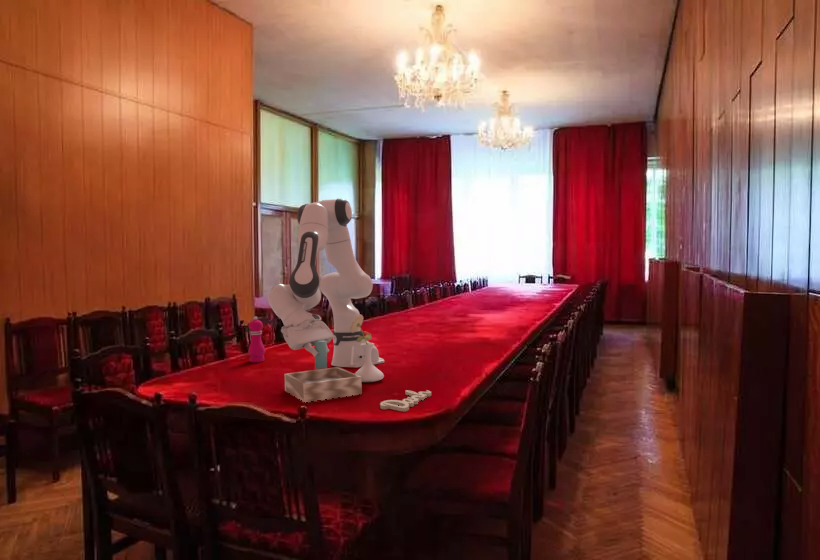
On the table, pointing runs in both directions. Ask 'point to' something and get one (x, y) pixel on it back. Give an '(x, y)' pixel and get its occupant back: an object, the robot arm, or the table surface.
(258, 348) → the pepper mill
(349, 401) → the table surface
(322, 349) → the peg
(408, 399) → the decorative sign
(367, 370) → the flower in vase
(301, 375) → the bore box
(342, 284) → the robot arm
